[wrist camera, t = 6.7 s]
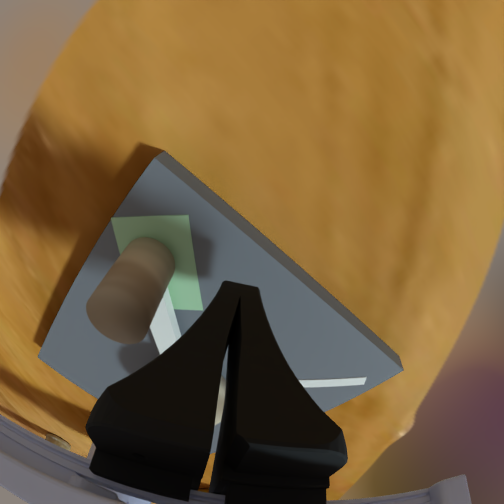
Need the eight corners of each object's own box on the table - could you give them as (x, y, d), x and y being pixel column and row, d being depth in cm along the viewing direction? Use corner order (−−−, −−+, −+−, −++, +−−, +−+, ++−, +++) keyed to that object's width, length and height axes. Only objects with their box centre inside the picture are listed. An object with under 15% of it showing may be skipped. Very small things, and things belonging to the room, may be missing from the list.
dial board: (210, 443, 26) (208, 454, 25) (43, 346, 20) (36, 357, 19) (398, 356, 18) (403, 370, 17) (163, 149, 12) (153, 157, 11)
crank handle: (232, 405, 19) (225, 456, 16) (161, 398, 19) (148, 445, 16) (200, 234, 12) (174, 295, 9) (96, 238, 13) (51, 289, 9)
